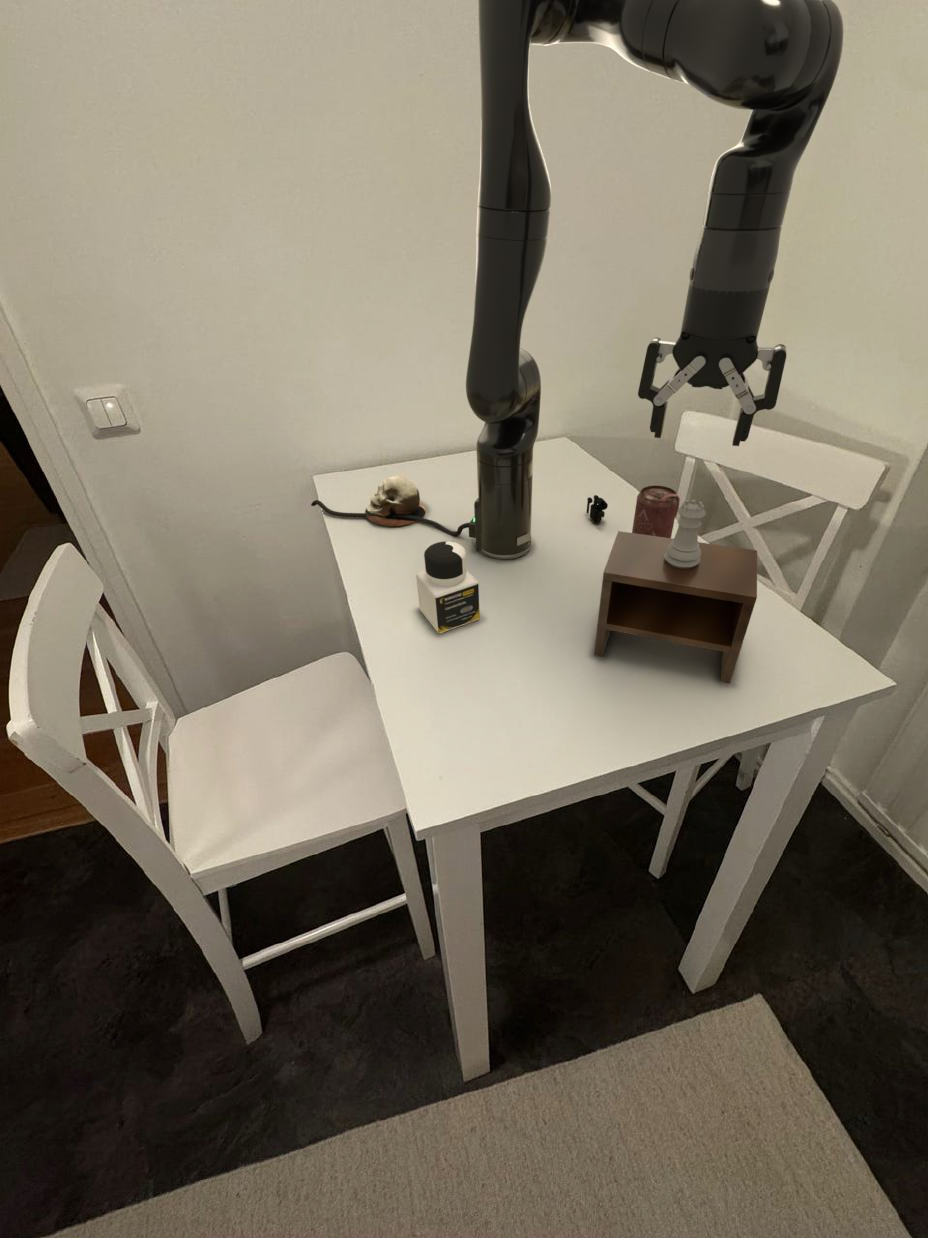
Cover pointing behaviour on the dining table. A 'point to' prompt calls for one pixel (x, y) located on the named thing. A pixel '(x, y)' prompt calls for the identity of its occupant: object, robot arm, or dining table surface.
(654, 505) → the can
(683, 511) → the rook chess piece
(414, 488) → the skull
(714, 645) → the shelf
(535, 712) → the dining table surface
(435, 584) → the medicine bottle
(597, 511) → the wireless earbuds
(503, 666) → the dining table surface
